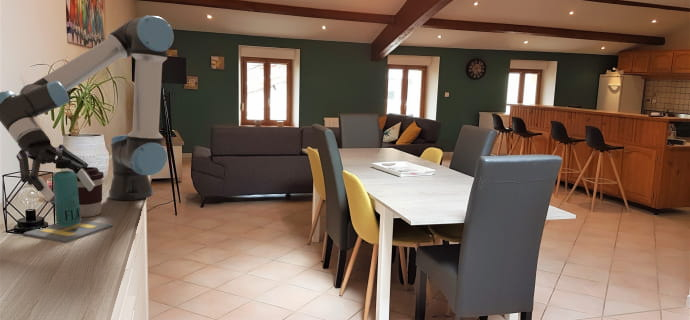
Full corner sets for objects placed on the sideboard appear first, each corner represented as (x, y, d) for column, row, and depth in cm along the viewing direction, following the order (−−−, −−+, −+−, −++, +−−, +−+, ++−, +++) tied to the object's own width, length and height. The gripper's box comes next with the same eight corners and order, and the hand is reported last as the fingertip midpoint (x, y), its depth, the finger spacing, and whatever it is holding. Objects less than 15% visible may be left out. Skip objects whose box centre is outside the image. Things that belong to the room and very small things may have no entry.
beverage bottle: (64, 232, 141) (58, 162, 138) (51, 229, 144) (45, 160, 141) (86, 227, 146) (81, 159, 143) (73, 223, 150) (68, 157, 146)
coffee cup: (90, 219, 156) (87, 172, 154) (64, 216, 159) (60, 170, 156) (112, 211, 166) (109, 167, 163) (87, 209, 168) (84, 165, 166)
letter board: (72, 220, 155) (72, 218, 155) (112, 226, 150) (112, 224, 150) (23, 234, 141) (23, 232, 141) (65, 242, 135) (65, 240, 135)
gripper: (61, 140, 158) (101, 192, 155) (-19, 151, 135) (25, 211, 132) (73, 125, 155) (113, 176, 153) (-8, 132, 132) (38, 194, 130)
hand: (72, 193), depth 143 cm, fingers open, 13 cm apart
